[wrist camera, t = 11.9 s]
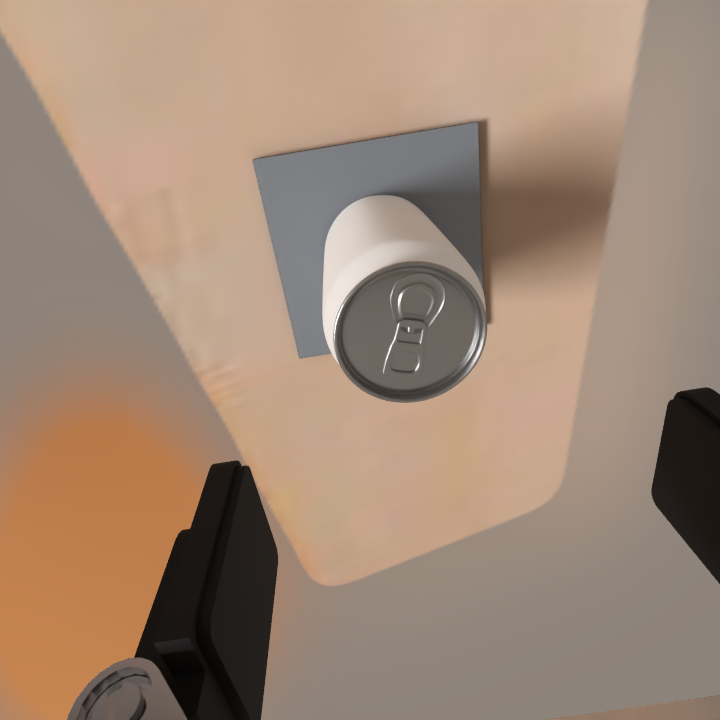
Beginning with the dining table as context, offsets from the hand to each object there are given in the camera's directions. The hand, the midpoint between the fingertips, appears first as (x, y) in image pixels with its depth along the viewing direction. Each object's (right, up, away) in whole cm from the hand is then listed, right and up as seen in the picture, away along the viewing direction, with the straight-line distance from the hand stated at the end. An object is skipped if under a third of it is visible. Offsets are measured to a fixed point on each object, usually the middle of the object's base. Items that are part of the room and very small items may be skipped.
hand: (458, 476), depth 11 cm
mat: (-1, +9, +18) cm, 20 cm away
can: (-1, +9, +17) cm, 20 cm away
